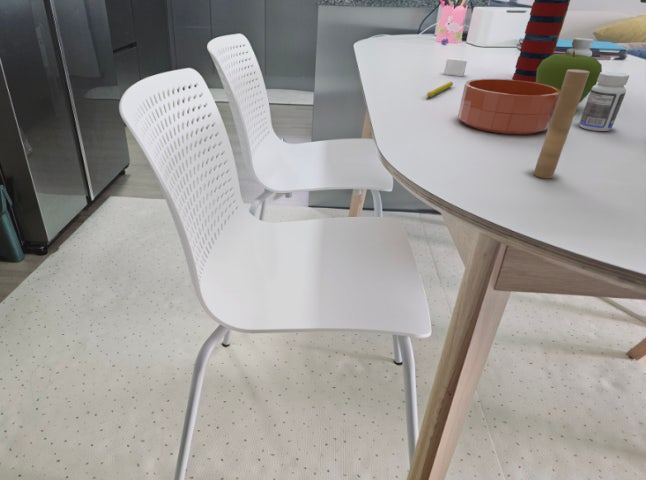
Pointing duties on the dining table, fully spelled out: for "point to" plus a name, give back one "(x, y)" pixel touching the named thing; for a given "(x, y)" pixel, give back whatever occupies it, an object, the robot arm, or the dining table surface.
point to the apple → (558, 64)
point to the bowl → (508, 105)
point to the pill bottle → (604, 101)
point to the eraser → (455, 67)
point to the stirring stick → (561, 122)
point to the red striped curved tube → (540, 37)
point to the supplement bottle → (581, 47)
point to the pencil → (439, 89)
